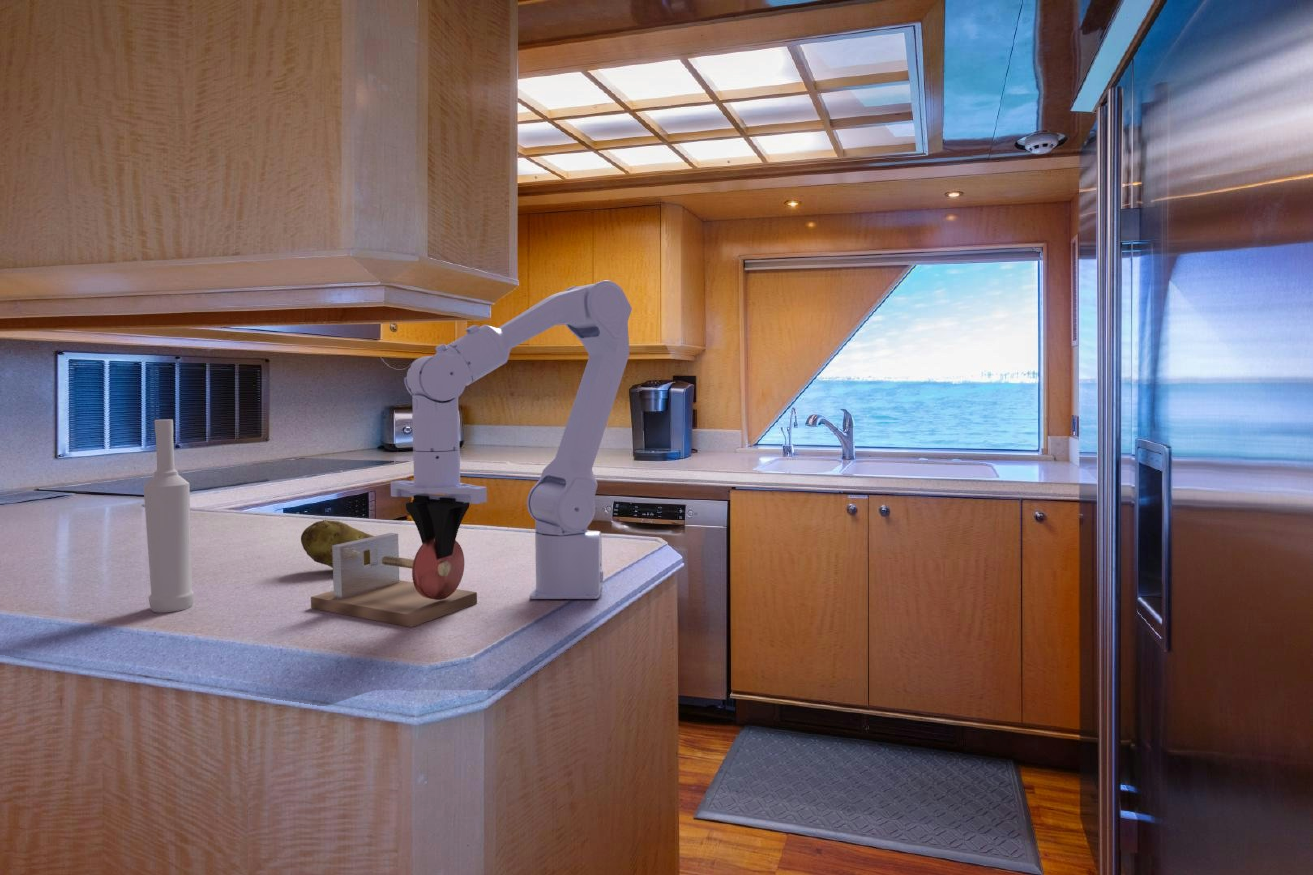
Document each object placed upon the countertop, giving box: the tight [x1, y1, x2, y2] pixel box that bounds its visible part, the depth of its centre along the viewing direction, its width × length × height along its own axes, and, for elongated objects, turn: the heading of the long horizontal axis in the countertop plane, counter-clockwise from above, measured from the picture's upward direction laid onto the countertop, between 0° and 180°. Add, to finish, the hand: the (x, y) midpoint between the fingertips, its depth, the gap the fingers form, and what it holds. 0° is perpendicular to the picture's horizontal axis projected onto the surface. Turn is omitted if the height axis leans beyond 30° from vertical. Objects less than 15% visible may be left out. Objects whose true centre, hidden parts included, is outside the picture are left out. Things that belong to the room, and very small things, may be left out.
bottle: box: [143, 418, 195, 614], centre depth 106 cm, size 5×5×25 cm
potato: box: [300, 519, 375, 569], centre depth 128 cm, size 8×13×8 cm, turn 82°
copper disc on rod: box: [381, 537, 465, 600], centre depth 106 cm, size 11×8×8 cm
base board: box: [310, 579, 478, 628], centre depth 108 cm, size 18×12×2 cm, turn 62°
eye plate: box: [332, 532, 400, 600], centre depth 110 cm, size 2×10×7 cm, turn 152°
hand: (438, 555), depth 103 cm, fingers closed on copper disc on rod
